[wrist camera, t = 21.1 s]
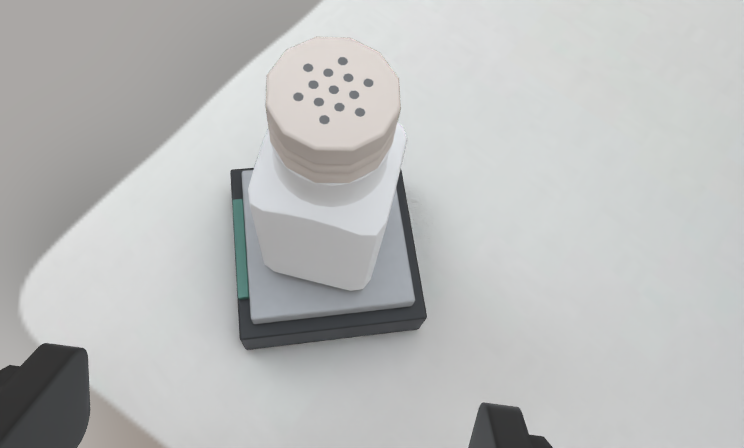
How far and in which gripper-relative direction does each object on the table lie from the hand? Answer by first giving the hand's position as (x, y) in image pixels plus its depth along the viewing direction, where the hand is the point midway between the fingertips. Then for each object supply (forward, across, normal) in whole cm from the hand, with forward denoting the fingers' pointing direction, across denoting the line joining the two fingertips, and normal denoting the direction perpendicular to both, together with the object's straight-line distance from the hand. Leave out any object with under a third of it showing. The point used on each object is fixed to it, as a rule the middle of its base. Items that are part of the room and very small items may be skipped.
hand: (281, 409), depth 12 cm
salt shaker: (+11, 0, +1) cm, 11 cm away
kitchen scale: (+13, 0, +3) cm, 13 cm away
